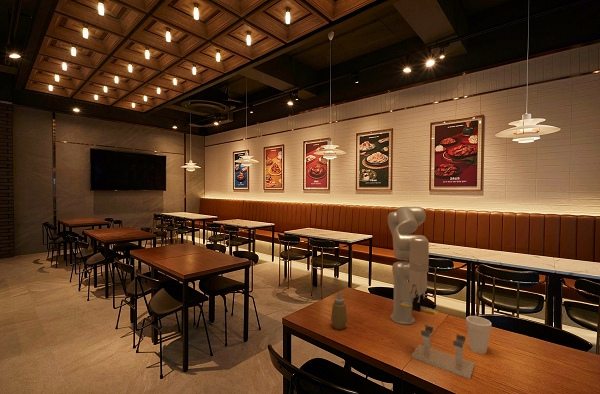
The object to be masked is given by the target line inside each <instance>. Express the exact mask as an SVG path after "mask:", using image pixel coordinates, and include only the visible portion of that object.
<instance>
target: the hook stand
mask: <svg viewBox="0 0 600 394" xmlns="http://www.w3.org/2000/svg"><path fill="white" fill-rule="evenodd" d="M433 333H434V326H430V325H424V330H421V331H420V337H422V338H423V345H422V344H421V343H420V344H418V346H417V347H416V348H415V350H414V351H413V352H412V354H411V357H412V359H416V360H418V361H420V362H422V363H425V364H428V365H431V366H434V367H437V368H439V369H442V370H444V371H447V372H450V373H453V374H455V375H458V376H461V377H462V378H463V377H464V378H466V379H468V380H471V379H472V378H471V377H472V374H473V372H474V368H475V362H474V361H471V360H468V359H465V358H463V357H464V356H463V354H464V353H463V352H464V351H463V350H464V349H463V348H464V346H465V344H466V336H465V335H462V334H458V333H456V339H455V340H453V341H452V342H453V344H452V345H453V348H455V355H453V354H450V353H447V352H444V351H441V350H438V349H435V348H432V347H431V336H432V334H433Z"/></svg>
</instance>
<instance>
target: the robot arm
mask: <svg viewBox="0 0 600 394" xmlns="http://www.w3.org/2000/svg"><path fill="white" fill-rule="evenodd" d="M426 217H427V213H426V211H425V209H424V208H423V207H421V206H401V207H399V208H398V209H397V210H396V211H391V212H389V213H388V215H387V225H388V228H389V230H390V233H391V236H392V248H393V256H394V257H395V259H397V260H400V261H396V262H393V264H392V267H391V268H392V269H391V271H392V277H393V311H392V313H391V314H390V316H389V317H390V319H391V321H393V322H395V323H397V324H400V325H413V324H414V323H416V318H415V317H414V316H413V311H415V312H417V313H421V312H420V311H421V306H423V307H425V292H427V289H428V272H429V261H430V260H429V259H430V257H429V251H430V250H429V249H430V247H429V246H430V243H429V242H430V241H429V240H428V238H427V237H426V236H425V235H422V234H421V235H420V234H412V233H414V232H416V231H417V230H418V227H420V226H421V225H422V224H423V223H424V222H425V221H426ZM402 260H403V261H402ZM400 301H403V302H407V303H411V304H412V309H408V308H405V307H401V306H399V303H400Z"/></svg>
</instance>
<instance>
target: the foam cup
mask: <svg viewBox="0 0 600 394" xmlns="http://www.w3.org/2000/svg"><path fill="white" fill-rule="evenodd" d="M465 324H466V329H467V331H466V332H467V337H468V338H467V339H468V347H469V350H470V351H472V352H474V353H475V354H480V355H485V354H487V351H488V346H489V340H490V336H491V335H490V334H491V331H492V322H491V321H490V320H489V319H486V318H485V317H481V316H477V315H476V316H475V315H469V316H467V317H466V318H465Z"/></svg>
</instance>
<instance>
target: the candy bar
mask: <svg viewBox="0 0 600 394" xmlns="http://www.w3.org/2000/svg"><path fill="white" fill-rule="evenodd" d="M399 306H401V307H405V308H408V309H412V304H411V303H407V302H403V301H400V303H399ZM419 313H423V314H429V315H433V316H434V315H438V314H439V313H440V311H438V310H436V309H433V308H430V307H426V306H424V307H423V306H421V311H420V312H419Z"/></svg>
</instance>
